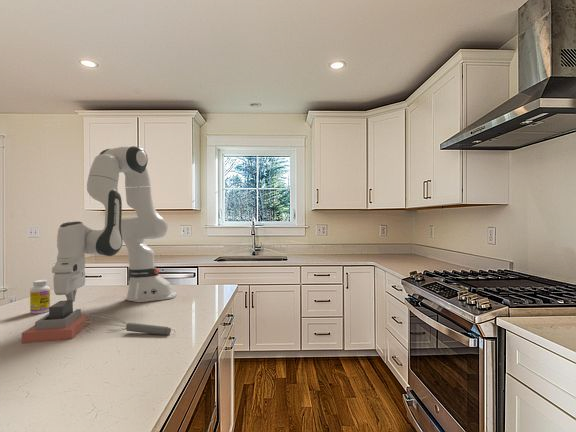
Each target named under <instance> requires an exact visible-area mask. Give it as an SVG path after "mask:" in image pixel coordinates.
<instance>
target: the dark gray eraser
mask: <svg viewBox="0 0 576 432" xmlns="http://www.w3.org/2000/svg"><path fill="white" fill-rule="evenodd" d="M73 303H74V302H73V300H67V299H65V300H59V301H58V302H56V303H54V304H52V305H50V307H49V311H48V314H49V320H54V319H64V318H65V317H67V316H68V315H70V314H71V313H72V312H74V308H73V307H74V304H73Z"/></svg>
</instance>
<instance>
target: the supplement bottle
mask: <svg viewBox="0 0 576 432" xmlns="http://www.w3.org/2000/svg"><path fill="white" fill-rule="evenodd" d="M47 284H48V280H47V279H38V280H33V281H32V285H33V287H30V291H29V293H30V294H29V300H30V301H29V305H30V306H29V311H30V314H33V315H34V314H35V315H38V314H44V313H47V312H48V313H49V307H50V306H51V288H50V286H48V285H47Z"/></svg>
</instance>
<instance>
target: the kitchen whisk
mask: <svg viewBox="0 0 576 432" xmlns="http://www.w3.org/2000/svg"><path fill="white" fill-rule="evenodd" d="M95 314H96V312H93V313H89V314H88V315H87V314H86V315H87V316H89V318H88V319H89V320H90V319H92V318H93V317H95V318H105V319H109V320H112V321H116V322H119V323H121V324H124V325H123V327H124V328H120V329H119V332H121V331H125V330H126V331H127V332H133V333H143V334H150V335H151V334H152V335H161V336H169V335H170V334H171V331H174V332H176V331H175V330H174V329H173V328H171V327H168V326H163V325H154V324H144V323H139V322H138V323H136V322H126V321H124V320H122V319H119V318H117V317H114V316H112V315H110V314H106V313H104V315H105V316H101V315H103V312H98V314H99V315H98V314H97V315H95ZM84 316H85V315H84ZM90 316H92V317H90ZM85 317H86V316H85ZM85 317H84V318H85ZM85 319H86V318H85ZM86 320H87V319H86ZM82 322H84V323H85V322H87V321H85V320H84V321H82ZM84 323H83V327H84ZM90 323H91V324H96V325H97V324H99V325H106V326H108V325H109V326H113V324H112V323H111V324H110V323H105V322H104V323H103V322H93V321H89V324H90ZM85 325H86V324H85ZM114 326H116V327H122V325H120V324H119V325H118V324H114ZM81 327H82V324H81ZM86 327H87V328H86ZM86 327H84V328H83V330H85V331H86V332H88V333H90V331H96V329H94V328H92V327H90V328H89V326H88V325H86ZM88 330H90V331H88ZM112 332H114V333H117V332H118V330H117V329H116V328H114V329H111V328H110V329H108V332H107V334H108V333H112Z"/></svg>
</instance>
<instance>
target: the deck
mask: <svg viewBox="0 0 576 432" xmlns="http://www.w3.org/2000/svg"><path fill="white" fill-rule="evenodd" d="M85 316H86V317H85ZM84 317H85V318H86V319H87V320H86V319H85V318H84ZM88 318H89V319H88ZM84 320H85V321H87V322H85V323H84V322H82V321H84ZM89 322H90V316H87V314H85V315H82V310H81V308H77V309H75V310H73V312H72V313H71V314H70V315H68V316H67V317H65V318H64V319H54V320H49V313H47V314H46V315H44V316H42V317H41V318H39V319H38V320H36V321H35V322H34V325H32V326H30V327H29V328H28V329H26V330H24V331H23V332H21V344H24V343H27V344H28V343H36V342H49V341H58V340H59V341H60V340H61V339H62V340H70V339H71V340H72V339H74V338H75V337H76V336H77V335H78V334H79V333H80V332H81V331H82V330H84V328H86V327H87V326H88V325H89V324H90V323H89ZM83 323H84V327H83ZM81 324H82V327H81ZM85 324H86V325H87V326H86V325H85Z"/></svg>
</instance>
